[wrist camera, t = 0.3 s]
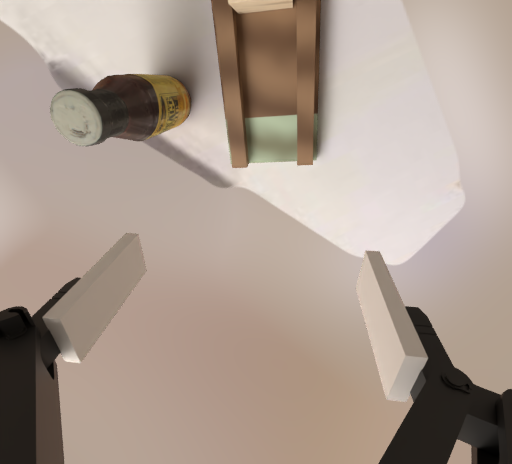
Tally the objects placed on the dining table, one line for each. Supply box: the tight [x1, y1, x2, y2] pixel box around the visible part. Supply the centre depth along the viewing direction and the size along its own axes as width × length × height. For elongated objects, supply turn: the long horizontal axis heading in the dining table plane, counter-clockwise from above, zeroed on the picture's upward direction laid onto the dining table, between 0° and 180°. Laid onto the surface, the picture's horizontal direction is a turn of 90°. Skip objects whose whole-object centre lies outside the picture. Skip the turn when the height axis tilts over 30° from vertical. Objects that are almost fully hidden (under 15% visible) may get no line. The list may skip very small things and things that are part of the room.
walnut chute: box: [211, 0, 321, 168], centre depth 34 cm, size 24×12×3 cm, turn 4°
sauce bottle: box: [50, 74, 191, 146], centre depth 30 cm, size 7×6×20 cm
